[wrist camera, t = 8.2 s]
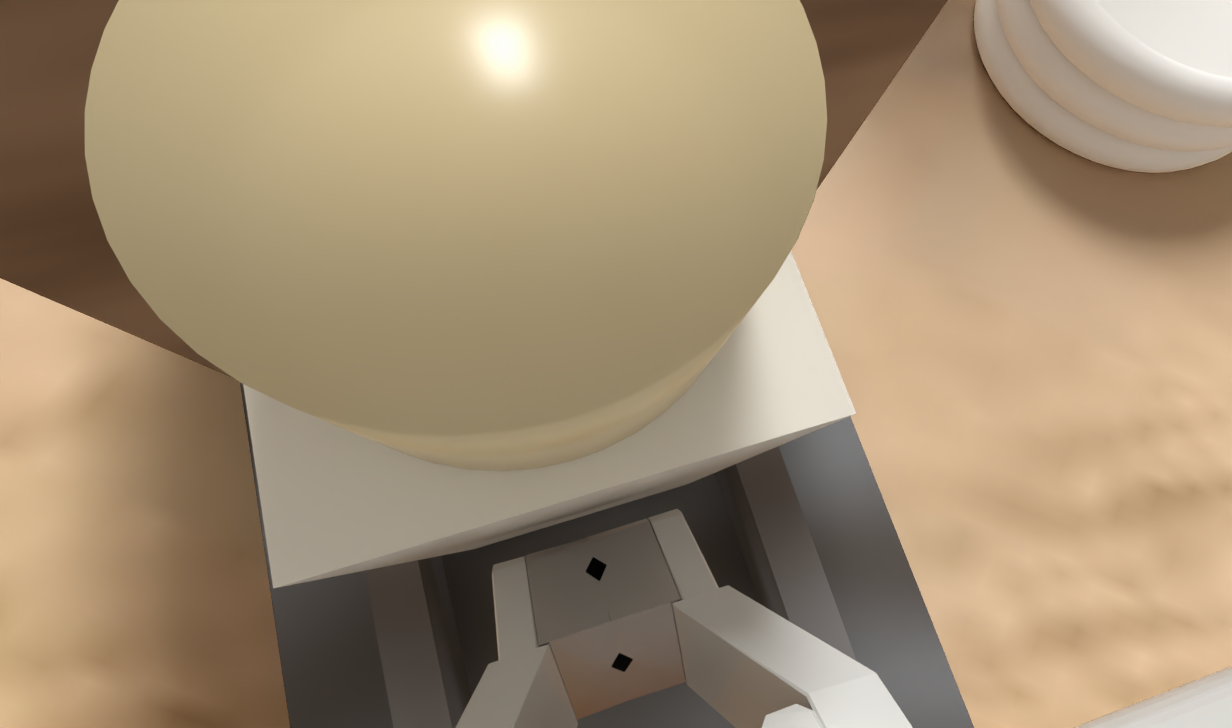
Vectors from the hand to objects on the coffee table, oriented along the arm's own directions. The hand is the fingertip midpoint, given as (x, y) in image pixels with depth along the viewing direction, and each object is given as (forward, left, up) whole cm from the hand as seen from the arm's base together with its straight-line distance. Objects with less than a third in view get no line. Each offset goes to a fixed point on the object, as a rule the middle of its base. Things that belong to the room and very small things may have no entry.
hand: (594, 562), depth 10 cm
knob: (+2, -2, -4) cm, 5 cm away
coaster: (-7, -23, -6) cm, 25 cm away
